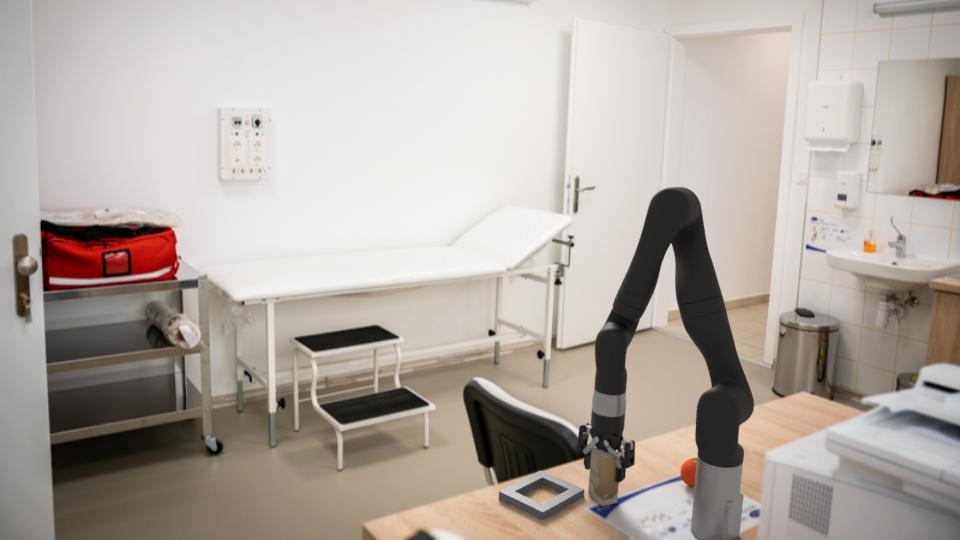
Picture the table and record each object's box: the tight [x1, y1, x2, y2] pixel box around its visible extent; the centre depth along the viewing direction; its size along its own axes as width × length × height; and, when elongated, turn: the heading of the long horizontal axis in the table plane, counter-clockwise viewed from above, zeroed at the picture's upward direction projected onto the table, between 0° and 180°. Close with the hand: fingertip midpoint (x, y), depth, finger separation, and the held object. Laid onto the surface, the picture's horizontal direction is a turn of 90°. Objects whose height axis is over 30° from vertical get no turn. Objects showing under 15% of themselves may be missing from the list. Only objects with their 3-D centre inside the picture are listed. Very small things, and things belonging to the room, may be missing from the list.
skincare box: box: [587, 446, 621, 507], centre depth 181 cm, size 6×4×12 cm
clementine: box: [679, 457, 697, 489], centre depth 189 cm, size 8×7×7 cm
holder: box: [498, 470, 585, 521], centre depth 182 cm, size 13×15×2 cm
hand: (603, 474), depth 182 cm, fingers open, 8 cm apart
